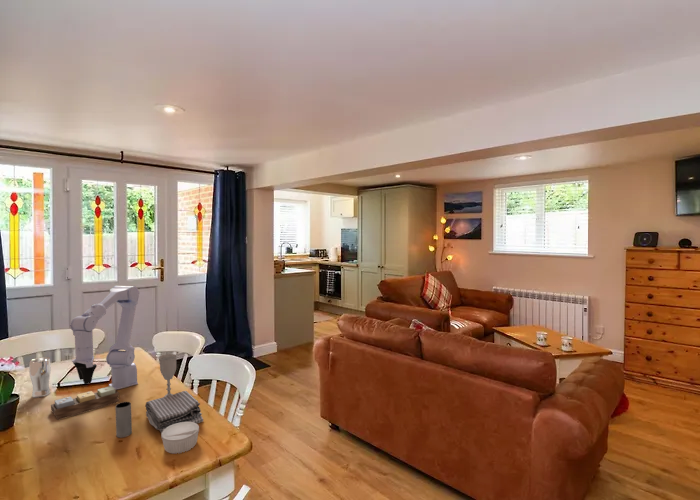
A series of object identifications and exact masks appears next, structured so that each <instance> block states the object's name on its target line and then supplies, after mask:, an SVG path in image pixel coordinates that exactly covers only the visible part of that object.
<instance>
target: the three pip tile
mask: <svg viewBox="0 0 700 500" xmlns="http://www.w3.org/2000/svg"><path fill="white" fill-rule="evenodd" d="M73 399H74V398H72V396H67V397H64V398H59V399H55V400H54V404H55V407H56V408H57V409H60V408H63V407H67V406H71V405H74V400H73Z"/></svg>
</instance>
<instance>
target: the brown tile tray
mask: <svg viewBox="0 0 700 500" xmlns="http://www.w3.org/2000/svg"><path fill="white" fill-rule="evenodd" d="M93 393H94V394H95V399H92V400H89V401H85V402H82V403H79V402H78V401H77V397H74V398H72V399H73V400H74V405H71V406H67V407H63V408H60V409H57V408H56V407H55V403H51V404H50V411H51V412H52V414H53V415H54V416H55V417H56V419H57V420H58V421H60V420H63V419H65V418H69V417H72V416H76V415H79V414H83V413H86V412H90V411H93V410H96V409H101V408H103V407H104V408H105V407H107V406H110V405H113V404H114V405H115V404H116V403H117V404H118V403H120V399H119V398H120V392H119V391H117V390H115V393H114V394H111V395H107V396H103V397H100V396H99V395H98V393H97V391H96V392H93Z"/></svg>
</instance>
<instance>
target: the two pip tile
mask: <svg viewBox="0 0 700 500" xmlns="http://www.w3.org/2000/svg"><path fill="white" fill-rule="evenodd" d="M94 393H95V392H93V391H92V390H89V391H86V392H83V393H79V394H76V398H77V401H78V402H79V403H82V402H85V401H89V400H92V399H95V394H94Z"/></svg>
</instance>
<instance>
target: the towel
mask: <svg viewBox="0 0 700 500" xmlns="http://www.w3.org/2000/svg"><path fill="white" fill-rule="evenodd" d="M172 394H173V393H172ZM200 405H201V402H199V400H197V399H196V398H195V397H194V396H193V395H192V394H191V393H189V391H187V390H183V391H180V392H176V393H174V394H173V395H169V396H166V397H164V396H162V397H159V398H156V399H152V400H149V401H146V402H145V406H144V407H145V416H146V418H147V420H148V421H149V424H150V425H151V426H152V427H154V428H155V429H156V430H158V431H159V432H160V434H162V432H163V430H164V429H166V428H167V427H168V426H170V425H173V424H176V423H180V422H194V423H196V424H200V423H203V422H204V417H203V416H202V415H203V413H202V410H201V408H200Z"/></svg>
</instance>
